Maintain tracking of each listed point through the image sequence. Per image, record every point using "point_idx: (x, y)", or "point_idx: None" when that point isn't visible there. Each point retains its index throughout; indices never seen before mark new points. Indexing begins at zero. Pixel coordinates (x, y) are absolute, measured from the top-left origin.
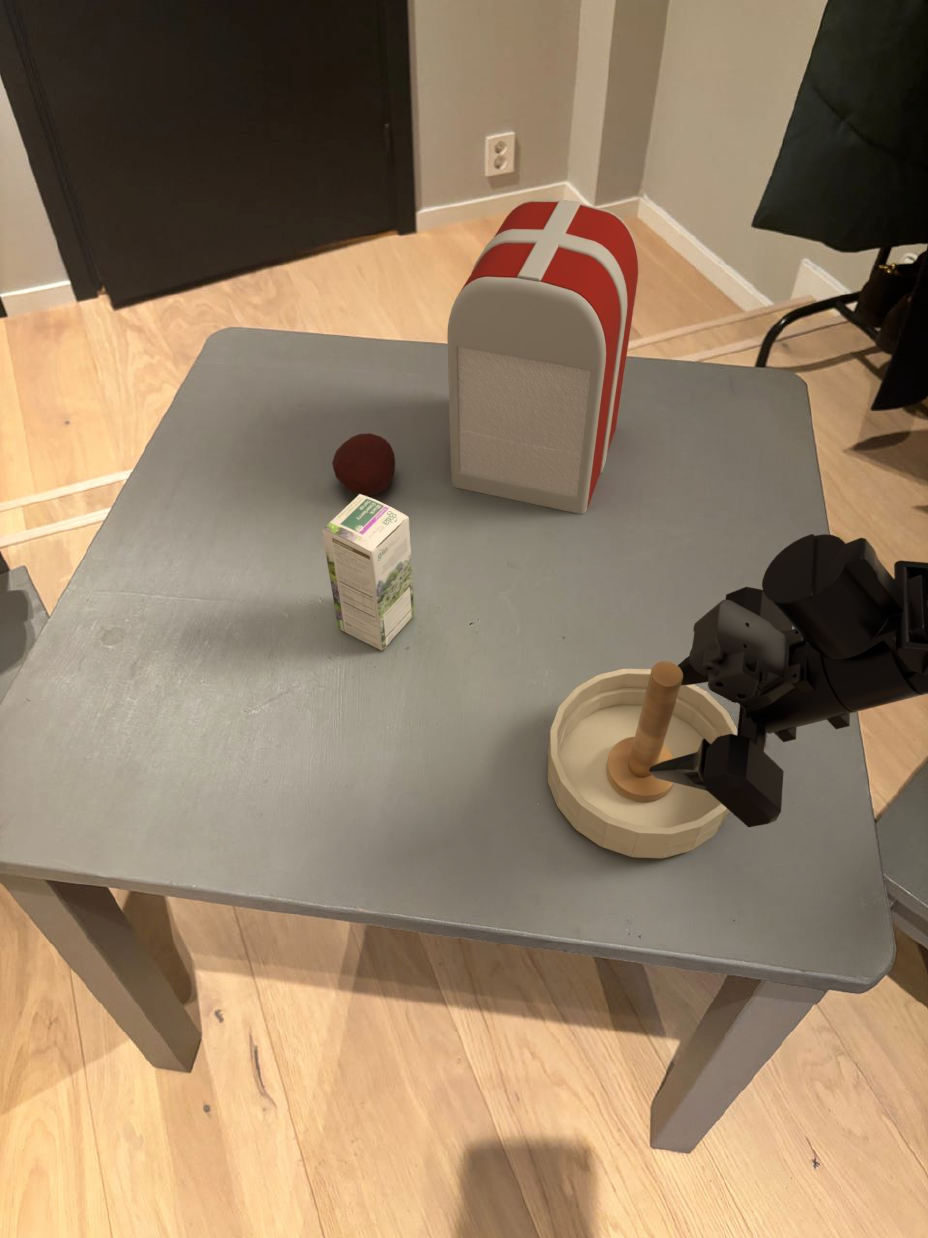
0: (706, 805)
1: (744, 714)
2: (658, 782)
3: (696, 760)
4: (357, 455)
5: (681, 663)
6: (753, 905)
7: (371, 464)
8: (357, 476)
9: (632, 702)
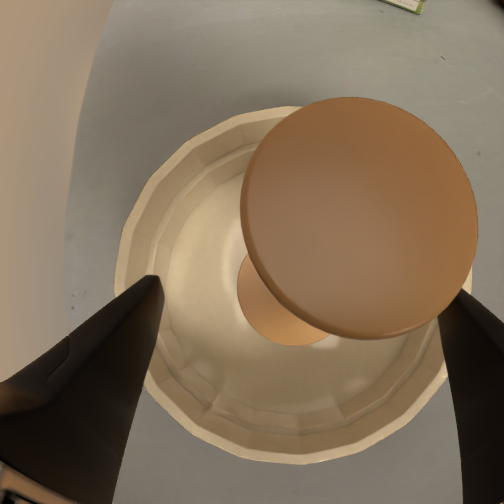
0: (257, 393)
1: None
2: (269, 317)
3: (12, 393)
4: None
5: (491, 316)
6: (136, 441)
7: None
8: None
9: None
